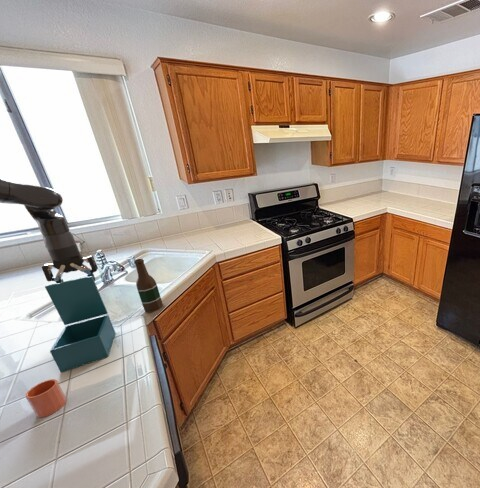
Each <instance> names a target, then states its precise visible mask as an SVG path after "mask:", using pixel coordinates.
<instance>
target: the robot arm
mask: <svg viewBox="0 0 480 488" xmlns="http://www.w3.org/2000/svg"><path fill="white" fill-rule="evenodd" d="M63 201H64V200H63V196H62V195H61V194H60V193H59V192H58V191H56V190H55V189H52V188H49V187H45V186H38V185H33V184H25V183H19V182H15V181H10V180H7V179H2V178H0V204H8V205H22V206H24V208H25V210H26V211H27V212H28V213H29V215H30V216H31V218H32V220H34V221H35V223H36V224H37V226H38V229H39V232H40V233H41V235H42V239H43V242H44V246H45V248H46V250H47V252H48V255H49V256H50V259H51V261H52V263H45V264H43V265H42V266H41V269H42V272H43V274H44V277H45V279H46V281H47V282H55V284H56V283H61V282H65V281H64V279H63V278H62V277H63V275H64V273H65V274H68V273H71V272H78V271H80V272H82V273H84V274H86V277H89V276H92V277H93V279H94V281H95V282H96V277H95V274H94V273H96V272H97V271H98V270H99V267H98V264H97V263H96V260H95V257H94V256H93V255H92V254H91V255H89V256H86V257H83V256H82V255H81V252H80V250H79V248H78V245H77V242H76V240H75V237H74V236H73V235H74V234H73V233H72V232H71V230H70V226H69V224H68V222H67V220H66V218H65V217H64V216H62V215H60V214H58V213H57V211H56V210H55V209H57V208H59V207H60V206H61V205H62V204H63V203H64V202H63ZM84 262H86V263H87V264H89V266H90V268H89V267H88V266H87V265H85V264H84ZM53 268H54V269H56V270H58V271H57V273H56V276H54V273H53V271H52V270H53Z"/></svg>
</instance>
